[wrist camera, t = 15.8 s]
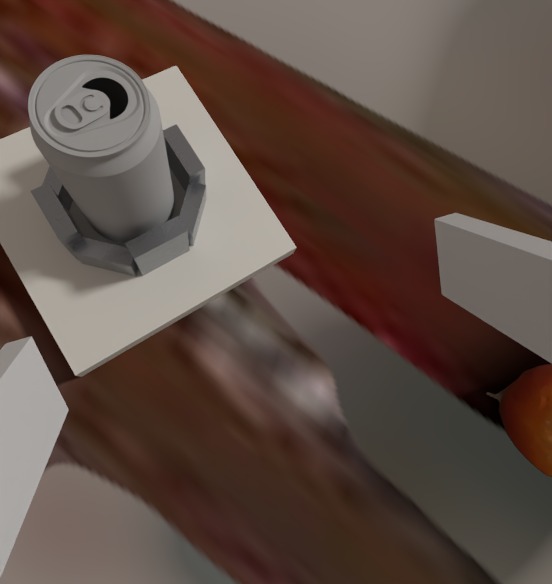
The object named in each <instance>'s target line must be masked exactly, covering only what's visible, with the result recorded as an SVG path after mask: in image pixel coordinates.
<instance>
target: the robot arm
mask: <svg viewBox="0 0 552 584" xmlns="http://www.w3.org/2000/svg"><path fill="white" fill-rule="evenodd" d="M434 220H435V230H436V241H437V251H438V261H439V271H440V281H441V291H442V295H444V296H445V297H447V298H448V299H450V300H452V301H453V302H455V303H456V304H458V305H459V306H461V307H463V308H464V309H466V310H467V311H469V312H471V313H472V314H474V315H475V316H477V317H478V318H480V319H482V320H483V321H485V322H486V323H488V324H490V325H491V326H493V327H494V328H496V329H498V330H499V331H501V332H502V333H504V334H505V335H507V336H509V337H510V338H512V339H513V340H515V341H517V342H518V343H520V344H521V345H523V346H524V347H526V348H528V349H529V350H531V351H532V352H534V353H536V354H537V355H539V356H540V357H542V358H543V359H545V360H547V361H548V362H550V363H551V364H552V242H551V241H547V240H544V239H541V238H538V237H534V236H531V235H528V234H524V233H521V232H518V231H514V230H511V229H508V228H504V227H501V226H498V225H494V224H491V223H488V222H484V221H481V220H478V219H474V218H471V217H468V216H464V215H461V214H458V213H454V214H450V215H447V216H443V217H440V218H436V219H434ZM67 413H68V408H67V406H66V404H65V402H64V400H63V398H62V396H61V394H60V392H59V390H58V388H57V386H56V384H55V382H54V380H53V378H52V376H51V374H50V372H49V370H48V368H47V366H46V364H45V362H44V360H43V358H42V356H41V354H40V352H39V350H38V348H37V346H36V344H35V342H34V340H33V338H32V336H30V337H27V338H24V339H20V340H17V341H13V342H10V343H6V344H5V345H4V346H3V347H2V349H1V350H0V577H1V575H2V572H3V570H4V567H5V565H6V562H7V560H8V557H9V555H10V552H11V550H12V548H13V545H14V543H15V540H16V538H17V535H18V533H19V530H20V528H21V526H22V523H23V521H24V518H25V516H26V513H27V511H28V508H29V506H30V503H31V501H32V499H33V496H34V494H35V491H36V489H37V486H38V483H39V481H40V479H41V476H42V474H43V471H44V469H45V467H46V464H47V462H48V459H49V457H50V454H51V452H52V449H53V447H54V444H55V442H56V440H57V437H58V435H59V432H60V430H61V427H62V425H63V422H64V420H65V417H66V415H67Z"/></svg>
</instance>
